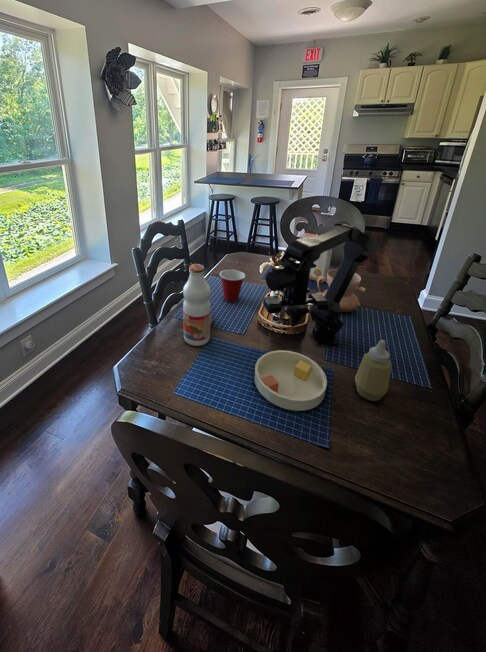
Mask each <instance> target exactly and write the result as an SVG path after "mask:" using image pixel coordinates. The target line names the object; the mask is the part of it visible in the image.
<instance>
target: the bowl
mask: <svg viewBox="0 0 486 652" xmlns="http://www.w3.org/2000/svg"><path fill="white" fill-rule="evenodd" d="M299 361H303V362H305V363H307V364H309V365H311V372H310V375H309V377H308V378H307V380H306V381H303V380H301V379H299V378H298V377H296V376H294V372H295V366H296V365H297V364H298V363H299ZM269 375H272V376H273V377H274V378H275V379H276V381H277V382H278V383H279V385H278V393H276V392H274V391H272V390H271V389H270V388H269V387H267V386H266V385H265V384H264V382H263V381H262V380H261V378H263V377H266V376H269ZM253 379H254V380H253V381H254V384H255V387H256V389H257V390H258V392H259V393H260V394H261V396H262V397H263V398H264V399H265V400H267V401H268V402H270V403H271V404H273V405H275V406H277V407H279V408H282V409H284V410H288V411H296V412H297V411H298V412H299V411H301V412H302V411H309V410H312V409H314V408H316V407H317V406H319V405H320V404H321V403H322V402H323V400H324V399H325V396H326V390H327V387H328V386H327V385H328V379H327V375H326V373H325V372H324V370H323V368H322V367H321V366H320V365H319V364H318V363H317V362H316V361H315V360H313V359H311V358H310V357H308V356H307V355H304V354H301V353H299V352H295V351H291V350H280V349H279V350H272V351H269V352H267V353H264V354H262V355H261V356H260V357H259V358H258V359H257V360H256V363H255V366H254V378H253Z"/></svg>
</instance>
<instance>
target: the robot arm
mask: <svg viewBox="0 0 486 652" xmlns="http://www.w3.org/2000/svg"><path fill="white" fill-rule="evenodd" d="M342 244H343V247H342V249H343V259H342V260H341V262H340V264H339V267H338V268H337V269H338V270H337V272H336V274H335V276H334V278H333V280H332V282H331V284H330V286H329V285H328V288H327V289H328V290H327V292H326V294H325V296H323V295H322V294H321V293H320V292H316V293H310V291H311V289H310V288H309V283H310V279H309V277H310V270H311V268H315V267H316V265H315V264H314V263H313V262H315V261H316V260H318V259H319V258H320V255H321V254H322V253H323V252H325V251H327V250H329V249H332V250H333V248H337V247H338V246H340V245H342ZM376 248H377V242H376V238H375V237H373V236H371V235H368V234H366V233H365V232H363V231H361V230H360V228H358V227H357V226H353V225H350V224H348V223H343V224H340V225H339V226H338V227H336V228H334V229H332V230H329V231H327V232H324V233H321V234H320V235H319V236H317V237H315V238H303V239H300V238H298V239H295V240H293V241H291V243H290V244H289V246H288V247H287V248H286V250H285V252H284V254H283V255H282V256H281V258H280V259H279V262H278V263H280V264H282V265H279V266H273V267H271V270H269V271H268V272H267V273H266V275H265V282H266V286H267V288H268V289H269V290H270V291H272V292H280V293H281V294H282V296H283V297H284V298H285V299H279V298H278V296H277V295H269V296H268V295H267V296H264V297H263V300H262V305H263V307H264V308H265V310H266V312H267V313H268V314H270V315H271V314H279V313H281V312H282V311H284V312H285V314H286V315H287V317H288V321H289V323H290V327H292V328H294V327H296V326H297V325H298V324H299V322H300V321H301V320H302V319H303V318H304V317H305V316H306V315H308V314H309V315H310V317H311V321H313V322H314V326H313V327H312V332H311V333H310V334H311V337H312V339H313V340H314V341H315V343H316V344H317V345H319V346H326V345H327V346H329V345H330V346H337V345H338V343H337V341H336V335H337V334H338V333H340V331H341V330H342V328H343V326H344V323H343V322H342V320H340V319H339V318H340V315H341V313H342V312H340V301H341V299H342V297H343V295H344V293H345V291H346V289H347V287H348V285H349V284H350V282H351V280H352V278H353V276H354V274H355V273H356V272H357V270H358V268H359V266H360V264H361V263H363V262H364V261H366V260H368V259H369V258H370V257H371V256H372V254H373V253H374V252H375V250H376ZM291 259H292V260H291ZM293 260H294V261H293ZM295 261H296V262H297V261H298V262H297V263H296V262H295ZM307 296H308V297H307ZM310 306H311V307H310ZM309 307H310V309H309Z"/></svg>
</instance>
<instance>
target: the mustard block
mask: <svg viewBox="0 0 486 652" xmlns="http://www.w3.org/2000/svg"><path fill="white" fill-rule="evenodd" d="M310 372H311V365H309V364H307V363H305V362H303V361H299V363H298V364H297V365H296V366H295V372H294V376H296V377H298V378H299V379H301V380H303V381H306V380H307V378H308V377H309V375H310Z"/></svg>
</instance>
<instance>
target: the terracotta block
mask: <svg viewBox="0 0 486 652" xmlns="http://www.w3.org/2000/svg"><path fill="white" fill-rule="evenodd" d="M261 380H262V381H263V382H264V384H265V385H266V386H267V387H269V388H270V389H271V390H272V391H274V392H276V393H278V385H279V383H278V382H277V381H276V379H275V378H274V377H273V376H272V375H269V376H266V377H263V378H261Z"/></svg>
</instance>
